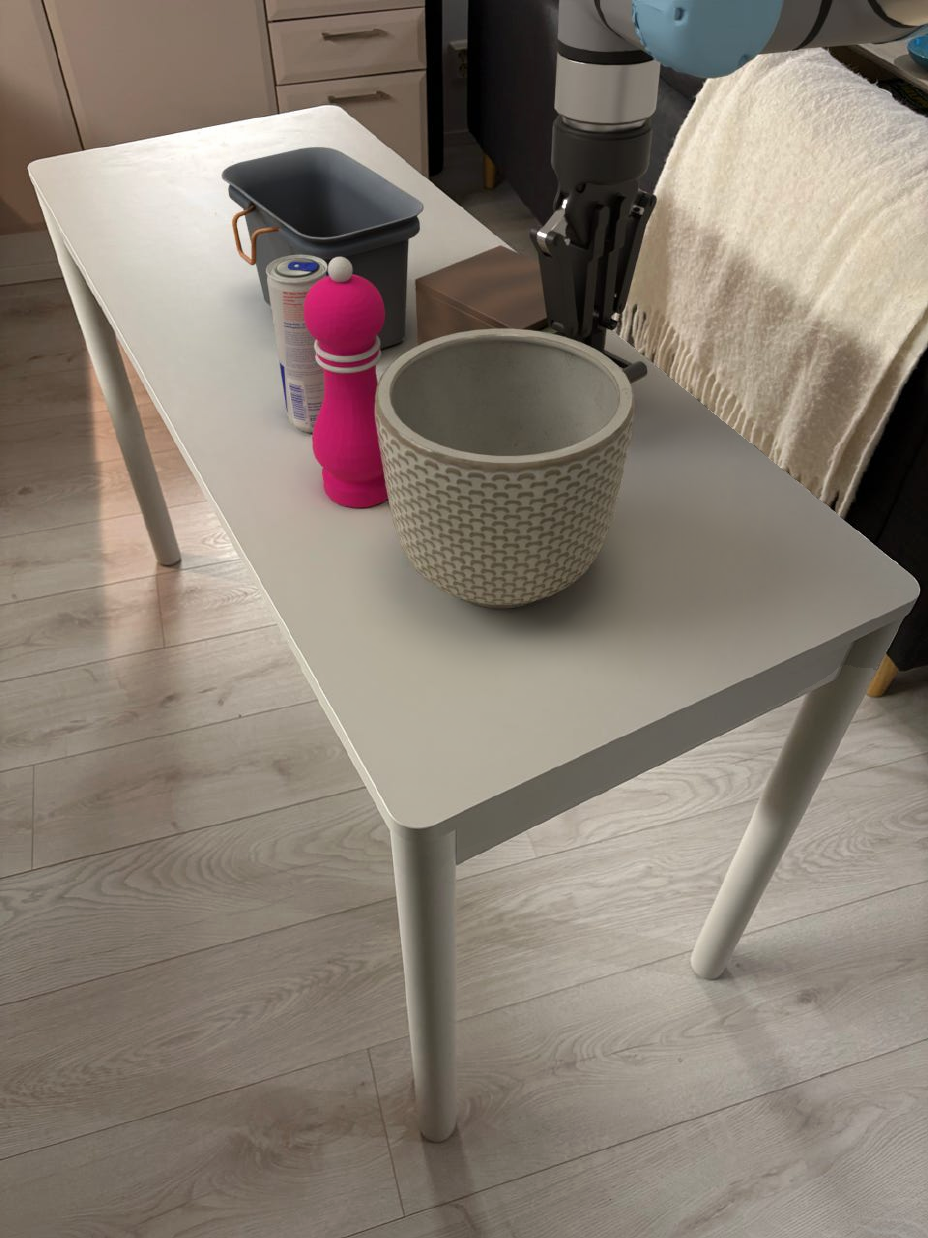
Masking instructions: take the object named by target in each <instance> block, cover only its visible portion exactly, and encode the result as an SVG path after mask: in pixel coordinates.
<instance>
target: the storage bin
mask: <svg viewBox="0 0 928 1238" xmlns="http://www.w3.org/2000/svg"><path fill="white" fill-rule="evenodd" d="M221 179H222V180H223V181H224V182H226V183H227V184H229V185H228V188H227V189H228V197H229V198H230V199H231V200H232V201H233V202H234V203H235V204H237V206H238V207H240V208H242V210H241V211H238V212H236V213H235V214H234V215H233V217H232V219H231V224H232V230H233V236H234V242H235V245H236V250H237V252H238V255H239V257H240V258H241V259H243V260H244V261H245V262H246V263H247V264H249V265H250V266H256V270H257V271H256V272H257V275H258V279H259V283H260V287H261V292H262V296H263V300H264V302H265V303H266V304H267V305H268V306H269V307H271V303H270V296H269V289H268V283H267V277H268V275H267V273H266V268H267V266H268V265H269V264H270V263H271V262H273V261H274V260H276V259H279V258H282V257H286V256H291V255H310V256H315V257H318V258H320V259H322V260H324V261H325V262H326V264H327V266H328V265H329V263H330V261H331V260H332V259H334V258H336V257H343V258H346V259H347V260H349V262H350V263H351V265H352V269H353V272H352V274H354V275H357V276H360V277H363V278H365V279H366V280H368V281H370V282H371V283H372V284H373V285H374V286H375V287H376V288H377V290H378V291H379V293H380V295H381V297H382V300H383V304H384V309H385V320H384V324H383V326H382V329H381V331H380V332H379V333H378V334H377V336H378V337H379V339H380V347H379V348H380V350H382V349H384V348H385V349H386V348H388V347H390V346H394V345H397V344H399V343H401V342H402V341H403V340H404V339H405V336H406V322H407V321H406V318H407V290H408V289H407V288H408V265H409V243H410V241H409V240H410V239H412V238H414V237H416V236H417V234H419V233H420V231H421V223H420V219H419V217H418V216H419V215H420V214H421V213H422V212H423V211H424V208H425V207H424V203H422V202H421V200H419V199H418V198H416V197H414V196H413V195H411V194H410V193H409V192H407V191H405V190H404V189H402V188H400V187H399V186H397V185H395V183H394V182H391V181H389V180H388V179H386V178H384V177H383V176H382V175H380V174H378V173H377V172H375V171H374V170H372V169H371V168H369V167H368V166H366V165H364V164H362V163H361V162H359V161H357V160H356V159H354V158H352V157H350V156H349V155H347V154H346V153H345V152H342V151H340V150H338V149H335V148H331V147H327V146H326V147H325V146H311V147H310V146H309V147H301V148H296V149H293V150H287V151H284V152H280V153H275V154H270V155H265V156H261V157H257V158H252V159H248V160H244V161H240V162H237V163H234V164H231V165H229V166H228V167H225V169H224V170H222V172H221ZM243 216H244V219H245V223H246V227H247V231H248V237H249V240H250V244H251V246H250V248H251V249H250V250H251V252H250V253H251V257H250V256H248V255H246V254H245V252H244V251H243V248H242V243H241V238H240V234H239V229H238V221H239V219H240V218H241V217H243ZM327 272H328V270H327ZM328 274H329V273H328Z"/></svg>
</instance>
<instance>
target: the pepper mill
mask: <svg viewBox="0 0 928 1238" xmlns="http://www.w3.org/2000/svg"><path fill="white" fill-rule="evenodd" d="M352 272H353V269H352V265H351V263H350V262H349V260H347V259H346V258H343V257H336V258H334V259H332V260H331V261H330V263H329V265H328V273H329V276H327V277H324V278H323V279H321V280H319V281H318V282H316V283H315V284H314V285H313V286H312V287H311V288H310V290H309V292H308V293H307V296H306V298H305V301H304V309H303V312H304V321H305V325H306V327H307V330H308V331H309V332H310V334H311V335H312V336H313V337H314V338H315V339H316V340H315V343H314V348H315V351H316V355H315V358H316V361H317V363H318V364H319V365H320V366H321V367H322V368H323V373H324V387H325V391H324V397H323V402H322V405H321V408H320V411H319V413H318V416H317V419H316V421H315V425H314V430H313V433H312V436H311V438H312V452H313V455H314V458H315V460H316V461H317V463H318V465H320V467H322V470H321V474H322V475H321V476H322V485H323V491H324V493H325V495H326V496H327V497H328V499H330V500H331V501H332V502H334V503H335V504H338V505H340V506H344V507H349V508H368V507H373V506H376V505H379V504H381V503H383V502H386V501H387V500H389V499H388V495H387V490H386V485H385V478H384V472H383V466H382V460H381V453H380V448H379V442H378V435H377V428H376V420H375V396H376V389H377V385H378V383H379V381H378V375H377V364H378V363H379V361H380V360H381V356H382V351H381V349H380V348H379V347H380V339H379V337H378V336H377V334H378V333H379V332H380V331H381V329H382V326H383V324H384V320H385V309H384V304H383V300H382V297H381V295H380V293H379V291H378V290H377V288H376V287H375V286H374V285H373V284H372V283H371V282H370V281H368V280H366V279H365V278H363V277H360V276H357V275H354V274H352Z"/></svg>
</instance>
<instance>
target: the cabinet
mask: <svg viewBox="0 0 928 1238" xmlns="http://www.w3.org/2000/svg"><path fill="white" fill-rule="evenodd" d="M414 287H415V289H414V291H415V314H416V335H417V336H416V339H417V346H419V345H421V344H423V343H425V342H428V341H431V340H433V339H436V338H439V337H442V336H446V335H451V334H455V333H459V332H466V331H472V330H482V329H523V330H533V331H536V330H539V329H541V328H543V327H545V326H547V325H548V323H547V315H546V308H545V301H544V294H543V286H542V279H541V272H540V265H539V260H538V261H537V260H535V259H533V258H530V257H528V256H527V255H524V254H522V253H519V252H517V251H515V250H512V249H511V248H508V247H506V246H504V245H497V246H495V247H493V248H490V249H488V250H485V251H483V252H480V253H478V254H475V255H473V256H470V257H467V258H465V259H463V260H460V261H458V262H455V263H453V264H450V265H448V266H445V267H443V268H440V269H438V270H435V271H432V272H430V273H427V274H424V275H422V276H420V277H417V278H415V279H414Z"/></svg>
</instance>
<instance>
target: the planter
mask: <svg viewBox="0 0 928 1238" xmlns="http://www.w3.org/2000/svg"><path fill="white" fill-rule="evenodd" d="M635 407H636V406H635V394H634V390H633V385H632V384H631V383H630V381H629V380H628V378H627V376H626V374H625V373H624V372H623V371H622V368H621V367H619V366H618V365H617V364H615V363H614V362H613V361H612V360H611V359H609V358H608V357H607V356H605V355H604V354H602V353H600V352H599V351H597V350H596V349H594V348H592V347H589V346H587V345H585V344H583V343H581V342H578V341H575V340H572V339H569V338H566V337H563V336H559V335H555V334H551V333H546V332H539V331H533V330H523V329H482V330H472V331H466V332H459V333H455V334H451V335H446V336H442V337H439V338H436V339H433V340H431V341H428V342H425V343H423V344H421V345H419V346H418V345H417V346H415V347H412V348H411V349H409V350H408V351H406V352H405V353H403V354H401V355H400V356H399V357H397V359H395V360H394V361H393V362H391V364H389V365H388V367H387V368H386V369H385V370H384V372H383V373H382V374H381V376H380V378H379V380H378V385H377V389H376V396H375V420H376V428H377V435H378V442H379V448H380V453H381V460H382V466H383V472H384V478H385V485H386V490H387V495H388V499H387V500H388V503H389V508H390V513H391V517H392V521H393V525H394V528H395V531H396V534H397V537H398V540H399V542H400V545H401V547H402V549H403V551H404V554H405V556H406V557H407V558H408V560H409V561H410V563H411V564H412V566H413V567H414V568H415V570H416V571H417V572H418V573H419V574H420V575H421V576H422V577H423V578H424V579H425V580H426V581H428V582H429V583H431V584H432V585H434V586H435V587H436V588H438V589H440V590H441V591H442V592H443V591H444V592H445V593H447V594H449V595H450V596H454V597H457V598H459V599H462V600H464V601H466V602H468V603H470V604H472V605H476V606H479V607H483V608H487V609H495V610H497V609H498V610H499V609H501V610H503V609H505V610H507V609H514V608H518V607H523V606H526V605H528V604H531V603H533V602H536V601H540V600H542V599H545V598H548V597H551V596H553V595H555V594H557V593H559V592H561V591H563V590H564V589H566V588H567V587H569V586H570V585H572V584H574V583H575V582H576V581H578V580H580V578H581V577H582V576H583V575H584V574H585V573H586V572H587V571H588V570H589V568H590V567H591V565H592V564H593V563H594V561H595V559H596V558H597V556H598V555H599V553H600V551H601V549H602V547H603V544H604V541H605V539H606V536H607V533H608V530H609V528H610V525H611V521H612V518H613V515H614V511H615V508H616V504H617V500H618V497H619V494H620V491H621V486H622V481H623V476H624V472H625V467H626V463H627V457H628V453H629V450H630V445H631V439H632V436H633V435H632V434H633V429H634V422H635V421H634V420H635Z"/></svg>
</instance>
